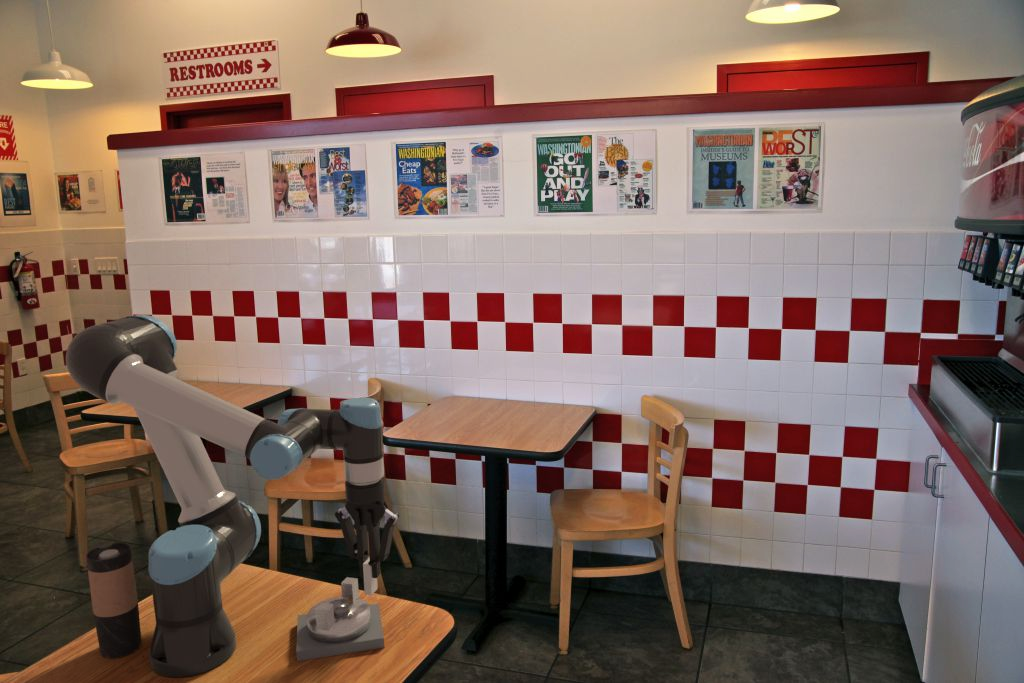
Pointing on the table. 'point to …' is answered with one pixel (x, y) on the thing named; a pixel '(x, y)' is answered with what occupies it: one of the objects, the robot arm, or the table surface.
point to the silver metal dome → (340, 615)
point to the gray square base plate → (318, 649)
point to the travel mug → (114, 599)
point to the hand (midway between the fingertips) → (371, 591)
